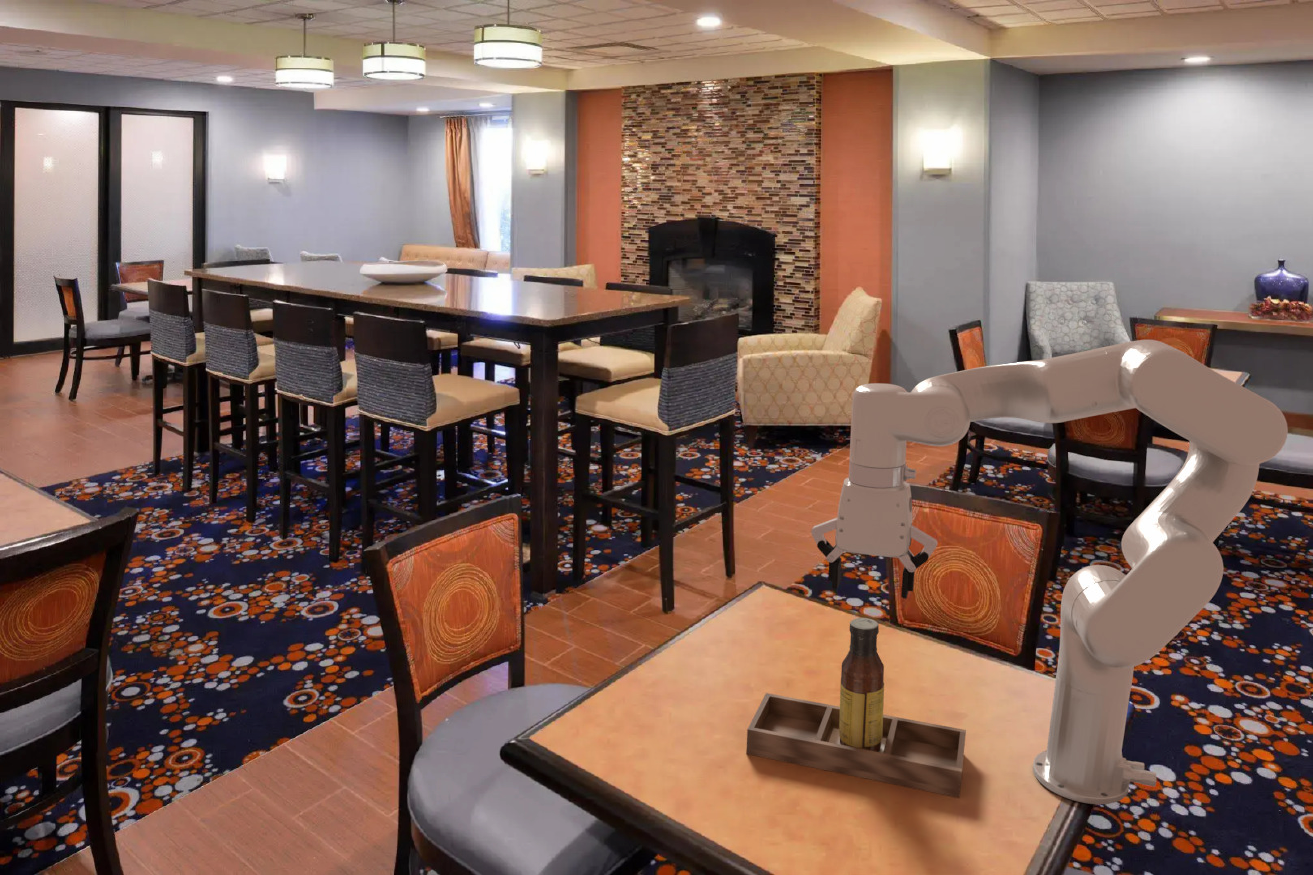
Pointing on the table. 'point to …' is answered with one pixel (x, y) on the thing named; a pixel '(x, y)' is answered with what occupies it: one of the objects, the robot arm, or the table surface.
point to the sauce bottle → (862, 689)
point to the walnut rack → (814, 741)
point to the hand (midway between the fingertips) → (870, 590)
